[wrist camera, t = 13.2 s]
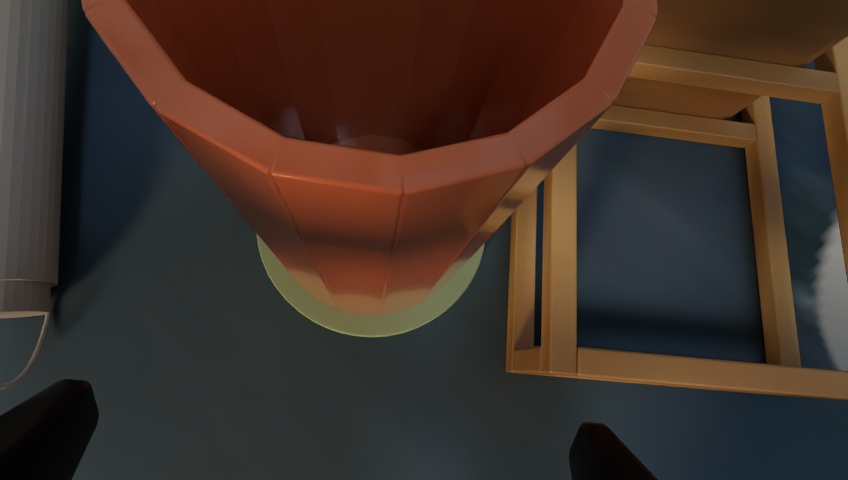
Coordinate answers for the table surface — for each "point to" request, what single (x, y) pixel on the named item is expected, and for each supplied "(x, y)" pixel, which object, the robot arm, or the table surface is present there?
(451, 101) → the tumbler
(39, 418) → the robot arm
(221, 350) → the table surface
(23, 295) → the kitchen whisk
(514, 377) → the table surface
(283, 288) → the coaster
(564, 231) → the dish rack
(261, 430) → the table surface
